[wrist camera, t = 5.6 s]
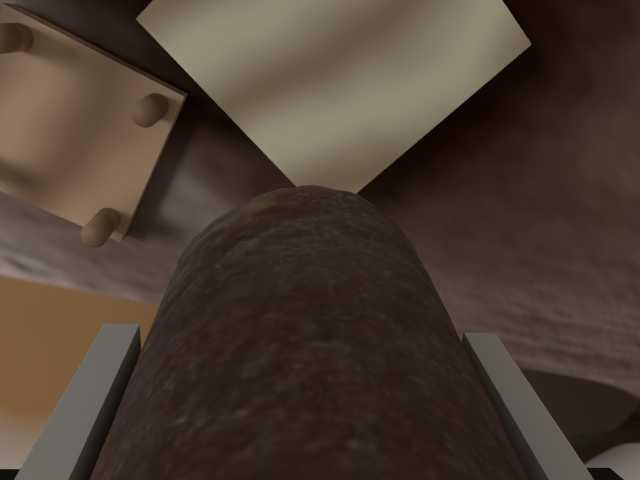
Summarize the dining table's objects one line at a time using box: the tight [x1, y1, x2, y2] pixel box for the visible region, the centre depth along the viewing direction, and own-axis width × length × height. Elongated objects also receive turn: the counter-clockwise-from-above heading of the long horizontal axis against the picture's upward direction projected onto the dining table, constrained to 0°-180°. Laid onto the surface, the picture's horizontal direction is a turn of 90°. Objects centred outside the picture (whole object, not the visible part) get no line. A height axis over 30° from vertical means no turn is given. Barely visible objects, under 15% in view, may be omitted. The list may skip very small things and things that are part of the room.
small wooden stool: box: [136, 0, 532, 194], centre depth 28 cm, size 14×14×4 cm
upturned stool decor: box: [0, 3, 188, 247], centre depth 29 cm, size 10×10×4 cm
